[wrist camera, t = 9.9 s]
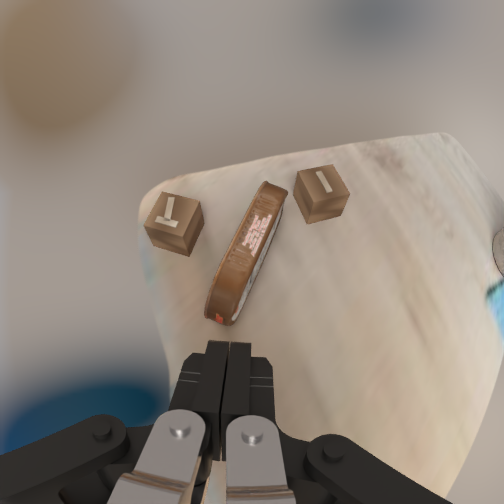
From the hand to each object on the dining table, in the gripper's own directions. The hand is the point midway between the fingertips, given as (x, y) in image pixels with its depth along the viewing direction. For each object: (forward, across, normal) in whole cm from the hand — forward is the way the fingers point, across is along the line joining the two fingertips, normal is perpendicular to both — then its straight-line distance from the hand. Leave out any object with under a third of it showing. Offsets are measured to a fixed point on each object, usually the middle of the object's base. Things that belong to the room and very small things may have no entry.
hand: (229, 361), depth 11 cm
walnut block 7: (+26, +8, +2) cm, 27 cm away
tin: (+23, 0, +5) cm, 24 cm away
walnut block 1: (+30, -8, -1) cm, 31 cm away
